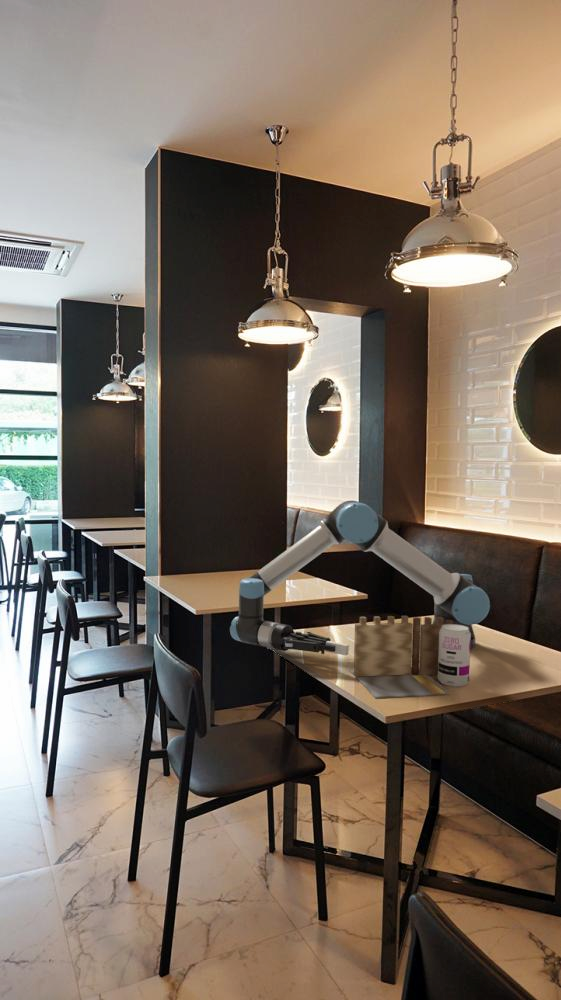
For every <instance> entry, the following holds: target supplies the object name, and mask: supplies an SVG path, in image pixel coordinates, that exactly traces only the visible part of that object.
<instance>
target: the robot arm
mask: <svg viewBox="0 0 561 1000" xmlns="http://www.w3.org/2000/svg"><path fill="white" fill-rule="evenodd" d="M344 541H347V542H350V543H351V544H354V545H355V546H356V547H357V548H359V549H360V550H361V551H362V552H364V553H365V552H366V553H367V552H373V553H374V554H375V555H377V556H378V557H379V558H380V559H383V561H385V562H386V563H387V564H389V565H390V566H392V567H393V568H394V569H396V570H397V571H399V572H400V573H401V574H403V575H404V576H405V577H407V578H408V579H409V580H411V581H412V582H414V583H415V584H416V585H418V586H419V587H420V588H422V589H423V590H425V591H426V592H427V593H429V594H430V595H432V596H433V601H434V605H433V606H434V608H433V609H434V611H433V612H434V613H433V619H432V620H433V621H432V624H436V617H442V618H444V620H443V624H445V623H446V620H452V621H453V624H457V625H463V626H466V627H468V628H469V631H470V633H471V642H470V649H473V648H474V647H476V641H477V639H476V636H475V632H474V629H473V625H477V624H478V623H480V622H482V621H484V619H485V618H486V617H487V616H488V614H489V611H490V608H491V605H490V604H491V602H490V598H489V596H488V594H487V593H486V592H485V590H484V589H482V588H481V587H480V586H479V587H478V586H477V585H475V584H474V581H473V576H472V575H471V574H469V573H468V574H467V573H459V572H453V573H451V572H449V571H448V570H446V569H445V568H443V567H442V566H441V565H439V564H438V563H437V562H435V561H434V560H432V559H431V558H430V557H429V556H427V555H426V554H425V553H423V552H422V551H420V550H419V549H417V548H416V547H415V546H413V545H412V544H411V543H410V542H408V541H407V540H405V539H404V538H402V537H401V536H400V535H399V534H397V533H396V532H395V531H393V530H392V529H390V528H389V524H388V520H386V519H385V518H383V517H382V516H381V515H380V514H378V513H377V512H376V511H375V510H374V509H373V508H372V507H371V506H369V505H367V504H366V503H364V502H360V501H357V500H346V501H343V502H342V503H340V504H338V505H337V506H336V507H335V508H334V509H333V510H332V511H331V512H329V513H328V514H327V515H325V517H324V518H322V519H320V523H319V525H318V526H317V527H316V528H314V529H313V530H311V531H310V532H309V533H308V534H306V535H305V536H304V537H302V538H300V540H297V542H295V543H294V544H293V545H291V546H290V547H288V548H287V549H285V551H283V552H282V553H281V554H279V555H278V556H277V557H275V558H274V559H273V560H271V561H270V562H269V563H267V564H266V565H264V566H263V567H262V568H261V569H259V570H258V571H257V572H255V573H254V574H253V575H251V576H249V577H248V576H247V577H246V578H243V579H241V580H240V581H239V587H238V616H235V617H234V618H233V619H232V621H231V625H230V627H229V632H230V636H231V638H232V639H234V640H235V641H237V642H238V641H239V642H241V643H244V644H248V645H249V644H250V645H255V646H261V647H265V648H266V649H267V650H270V649H275V650H278V651H283V652H286V651H288V650H295V651H301V652H302V651H303V652H309V653H310V652H311V653H317V654H319V653H320V652H321V653H320V654H321V655H325V652H326V653H332V654H337V655H341V656H348V655H349V650H350V649H349V647H350V646H349V644H348V643H347V644H346V643H342V642H341V643H340V642H336V641H332V640H331V638H330V637H326V636H323V635H319V634H316V633H312V632H311V631H307V632H306V633H303V632H301V631H296V632H295V631H294V628H293V627H292V626H291V625H290V624H284V623H279V622H273V621H270V620H269V621H268V620H264V603H265V599H264V597H265V596H266V595H267V594H269V593H270V592H271V591H273V590H274V589H275V588H276V587H278V586H280V585H281V584H282V583H283V582H284V581H286V580H287V579H288V578H290V577H291V576H292V575H294V574H295V573H297V572H298V571H300V570H301V569H302V568H303V567H305V566H306V565H308V564H309V563H310V562H311V561H313V560H314V559H316V558H317V557H318V556H320V555H321V554H322V553H324V552H325V551H326V550H328V549H329V548H330V547H332V546H333V545H340V544H341V543H342V542H344Z"/></svg>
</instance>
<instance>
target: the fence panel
mask: <svg viewBox="0 0 561 1000" xmlns="http://www.w3.org/2000/svg"><path fill="white" fill-rule="evenodd" d="M395 618H396V617H395V616H393V615H387V621H386V622H387V623H384V622H383V623H381V617H380V616H378V615H377V616H373V623H367V617H366V616H359V623H356V624H355V623H354V639H353V640H354V643H353V647H354V648H353V650H354V651H353V669H354V675H353V677H355V678H356V677H359V676H382V675H406V674H411V667H412V640H413V622H409V616H408V615H401V619H400V620H401V621H400V622H395V620H396V619H395Z"/></svg>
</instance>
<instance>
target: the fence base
mask: <svg viewBox="0 0 561 1000" xmlns="http://www.w3.org/2000/svg"><path fill="white" fill-rule="evenodd" d="M432 620H433V619H432V618H431V617H430V616H427V617H424V622H423V623H422V624H421V621H422V620H421V617H413V618H412V624H413V631H412V662H411V674H406V675H382V676H359V677H355V678H356V680H357V681H359V683H361V685H362V686H363V687H364V688H365V689H366V690H367V691H368V692H369V693H370V694H371V695H372V696H373V698H375V699H387V698H388V699H390V698H391V699H392V698H409V697H428V696H429V697H430V696H431V697H433V696H449V695H451V694H452V693H451V691H449V690H448V689H446V688H445V687H444V686H442V685H441V683H438V682H437V681H436V680H435V679H433V678H432V677H431V676H438V651H439V631H440V629H441V628H442V625H446V624H453V621H452V620H446V623H445V624H443V620H444V618H442V617H436V624H432V623H433V621H432ZM349 673H351V674H352V675H353V676H354V668H352V669H349Z"/></svg>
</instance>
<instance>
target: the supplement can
mask: <svg viewBox="0 0 561 1000" xmlns="http://www.w3.org/2000/svg"><path fill="white" fill-rule="evenodd" d="M470 642H471V633H470V631H469V628H468V627H466V626H463V625H457V624H446V625H442V628H441V629H440V631H439V651H438V675H437V680H438V681H439V683H440V684H443V685H445V686H449V687H456V688H457V687H465V686H466V685H467V684H468V683H470V669H471V668H470V666H471V665H470V664H471V662H470V661H471V648H470Z"/></svg>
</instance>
